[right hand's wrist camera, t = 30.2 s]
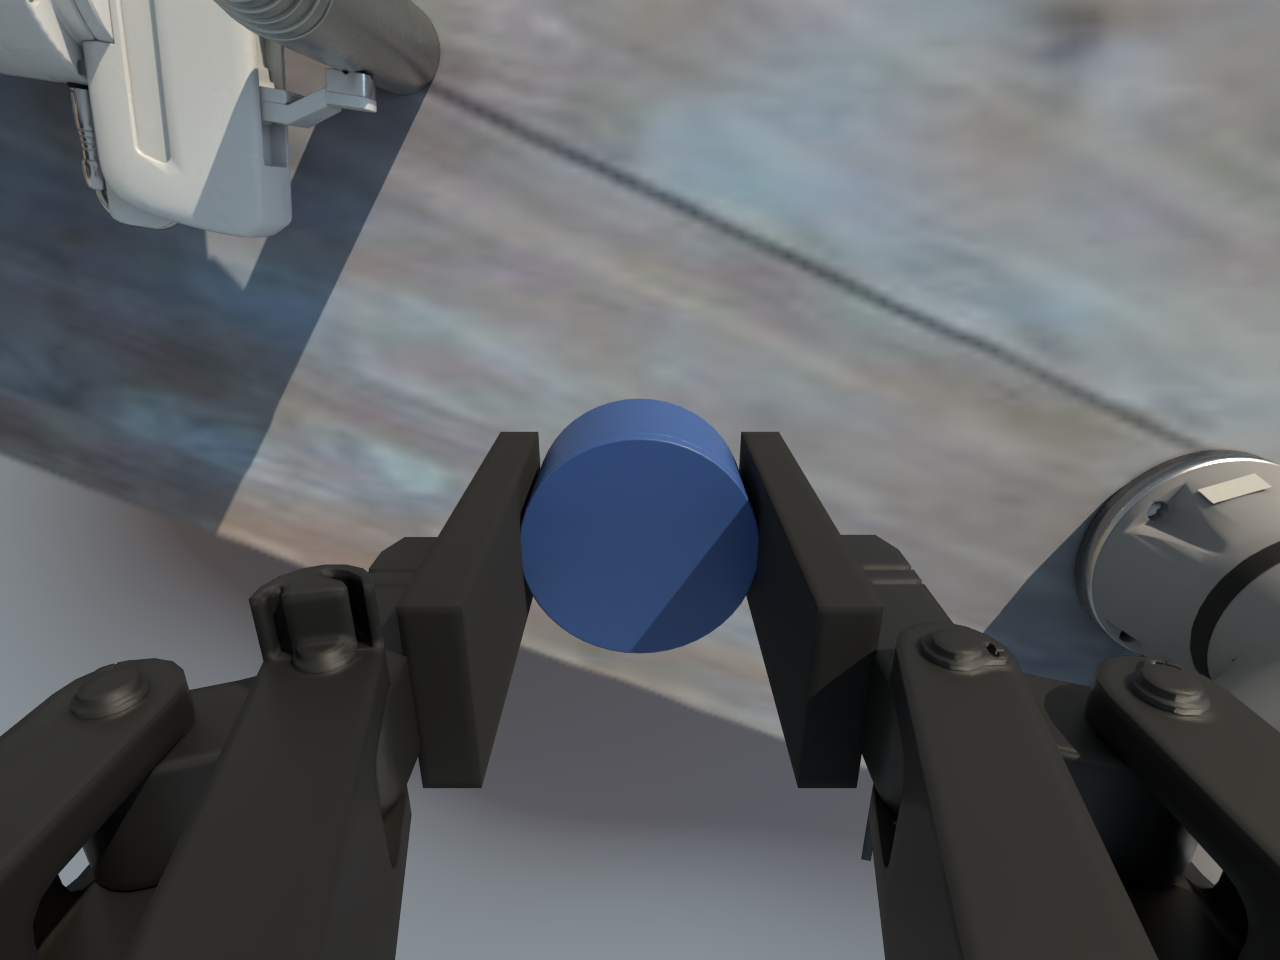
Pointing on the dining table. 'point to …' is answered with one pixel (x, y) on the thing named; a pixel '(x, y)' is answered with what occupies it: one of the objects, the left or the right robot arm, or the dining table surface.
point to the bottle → (350, 36)
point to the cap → (639, 529)
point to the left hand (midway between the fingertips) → (372, 20)
